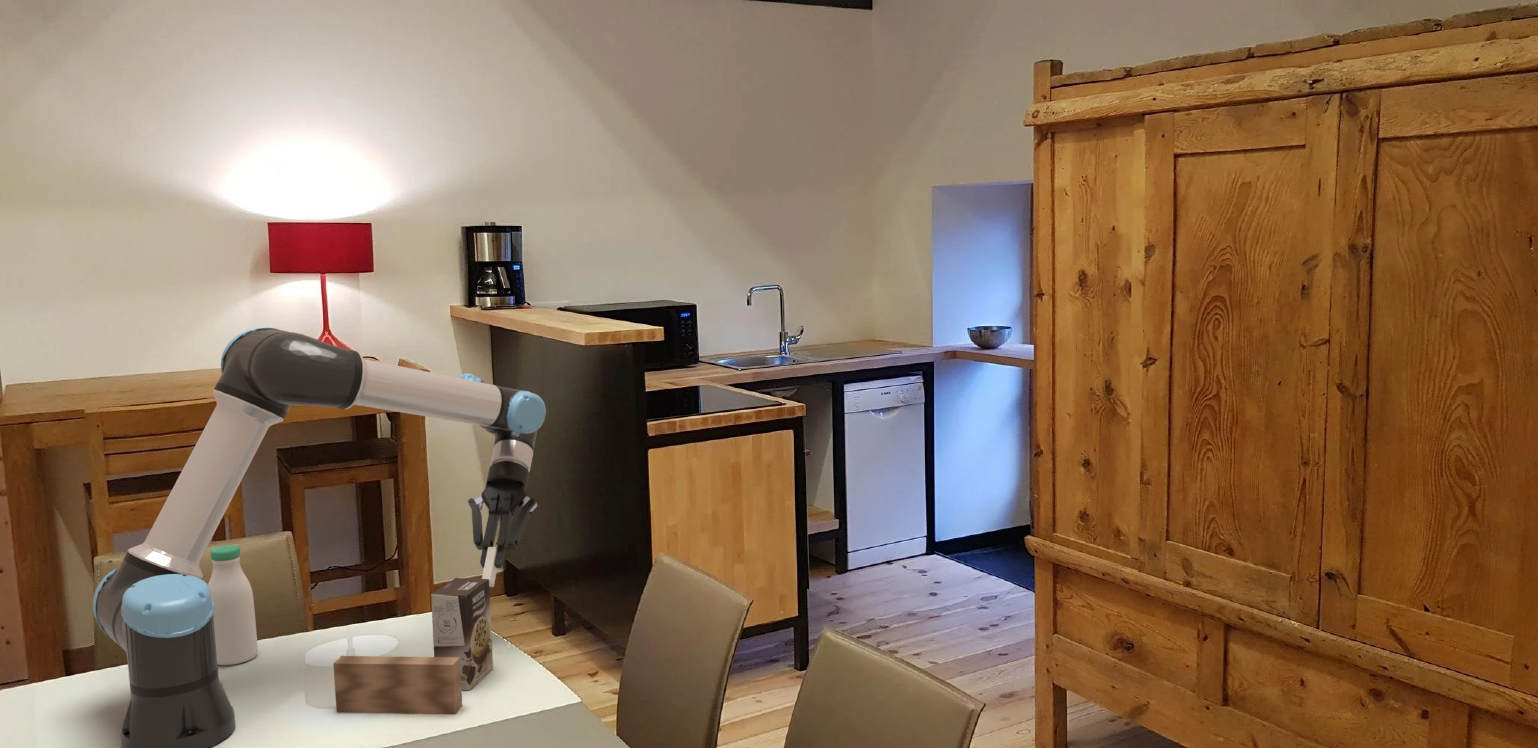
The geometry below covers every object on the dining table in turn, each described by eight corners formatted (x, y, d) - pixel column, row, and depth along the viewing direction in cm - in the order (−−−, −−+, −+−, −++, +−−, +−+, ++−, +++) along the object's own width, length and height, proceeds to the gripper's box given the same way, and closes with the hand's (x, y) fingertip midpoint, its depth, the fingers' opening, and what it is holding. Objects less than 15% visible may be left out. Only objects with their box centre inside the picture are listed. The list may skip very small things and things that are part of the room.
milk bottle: (267, 655, 201) (258, 545, 198) (226, 670, 195) (217, 557, 192) (241, 646, 205) (232, 539, 202) (200, 661, 199) (190, 550, 196)
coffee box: (470, 691, 185) (465, 595, 182) (434, 688, 186) (428, 593, 184) (495, 669, 193) (490, 578, 191) (460, 666, 195) (455, 576, 192)
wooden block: (336, 712, 177) (333, 663, 176) (344, 704, 180) (341, 656, 179) (455, 714, 176) (453, 665, 175) (462, 705, 179) (459, 657, 178)
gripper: (547, 479, 218) (528, 592, 203) (481, 480, 218) (457, 592, 204) (539, 458, 211) (519, 573, 197) (470, 459, 212) (445, 573, 198)
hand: (487, 583), depth 201 cm, fingers closed
